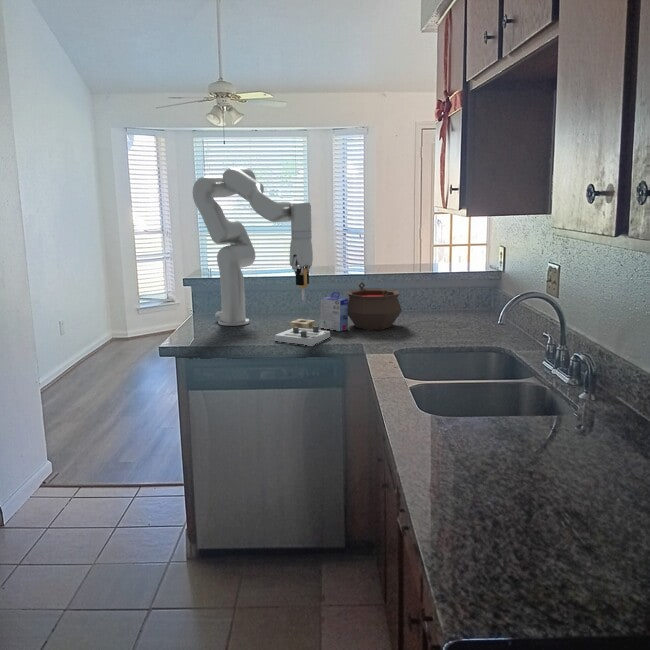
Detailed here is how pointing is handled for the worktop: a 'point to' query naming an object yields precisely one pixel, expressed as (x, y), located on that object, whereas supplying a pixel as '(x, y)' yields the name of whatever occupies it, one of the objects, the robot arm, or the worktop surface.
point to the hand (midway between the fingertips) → (302, 284)
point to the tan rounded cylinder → (304, 283)
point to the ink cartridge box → (334, 313)
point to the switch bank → (294, 338)
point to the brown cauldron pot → (373, 307)
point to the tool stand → (302, 324)
